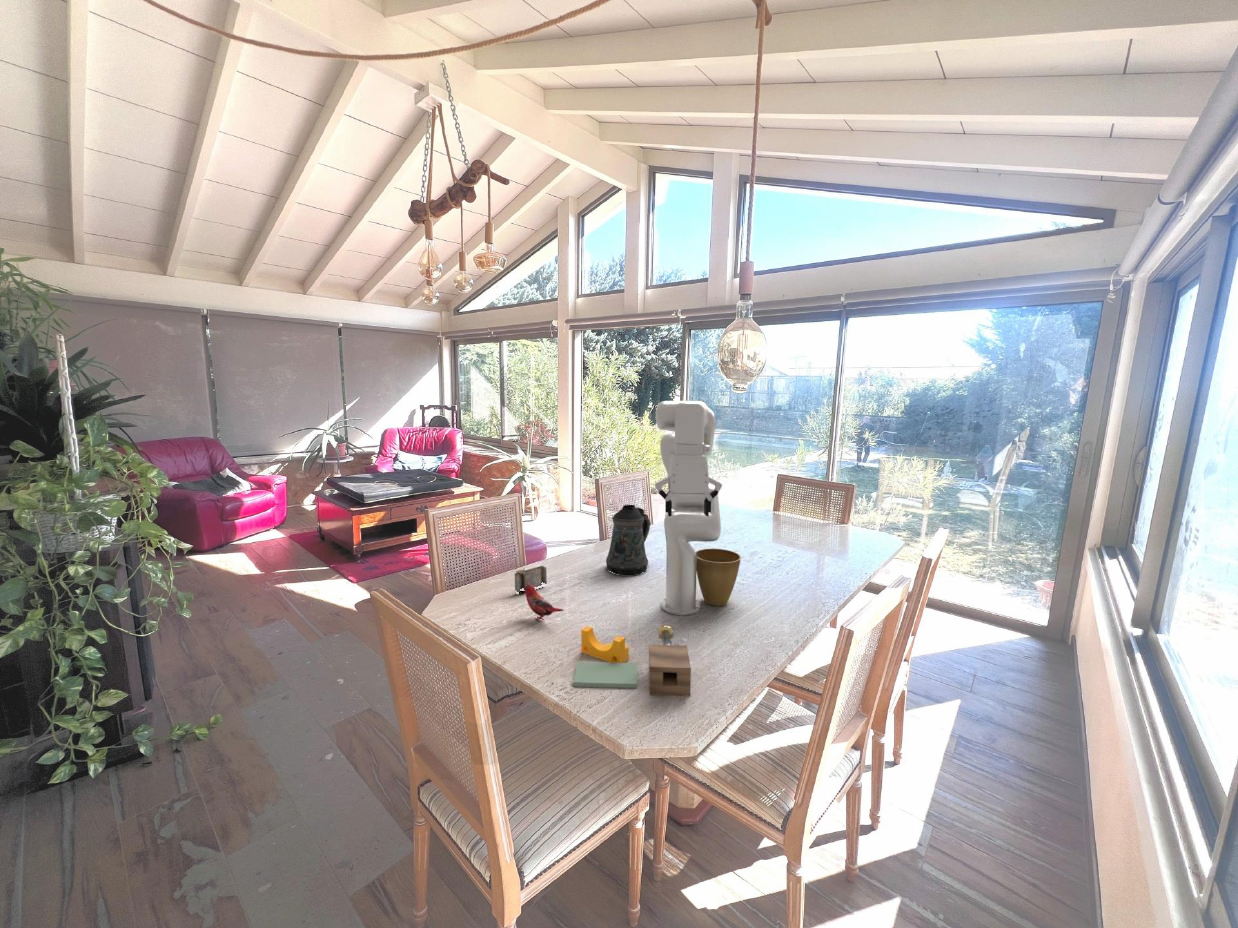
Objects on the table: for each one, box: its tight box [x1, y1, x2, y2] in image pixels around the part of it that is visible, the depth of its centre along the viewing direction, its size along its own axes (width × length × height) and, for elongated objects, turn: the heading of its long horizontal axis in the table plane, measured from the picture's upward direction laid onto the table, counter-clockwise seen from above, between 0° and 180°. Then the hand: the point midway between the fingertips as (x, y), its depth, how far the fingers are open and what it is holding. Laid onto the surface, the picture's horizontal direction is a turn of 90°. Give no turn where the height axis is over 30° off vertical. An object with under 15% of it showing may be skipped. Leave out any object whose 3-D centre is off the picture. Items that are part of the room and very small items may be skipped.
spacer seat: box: [572, 660, 638, 689], centre depth 119 cm, size 9×15×1 cm, turn 87°
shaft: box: [657, 624, 674, 645], centre depth 125 cm, size 15×4×4 cm, turn 177°
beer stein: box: [605, 504, 651, 576], centre depth 192 cm, size 16×19×25 cm
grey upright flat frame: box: [514, 565, 548, 593], centre depth 170 cm, size 11×3×10 cm, turn 134°
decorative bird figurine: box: [524, 584, 565, 621], centre depth 147 cm, size 3×18×10 cm, turn 51°
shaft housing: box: [648, 644, 692, 697], centre depth 116 cm, size 10×9×7 cm
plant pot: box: [695, 548, 742, 607], centre depth 161 cm, size 15×15×16 cm
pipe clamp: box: [580, 625, 630, 663], centre depth 128 cm, size 12×4×6 cm, turn 57°
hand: (687, 515), depth 128 cm, fingers open, 9 cm apart
